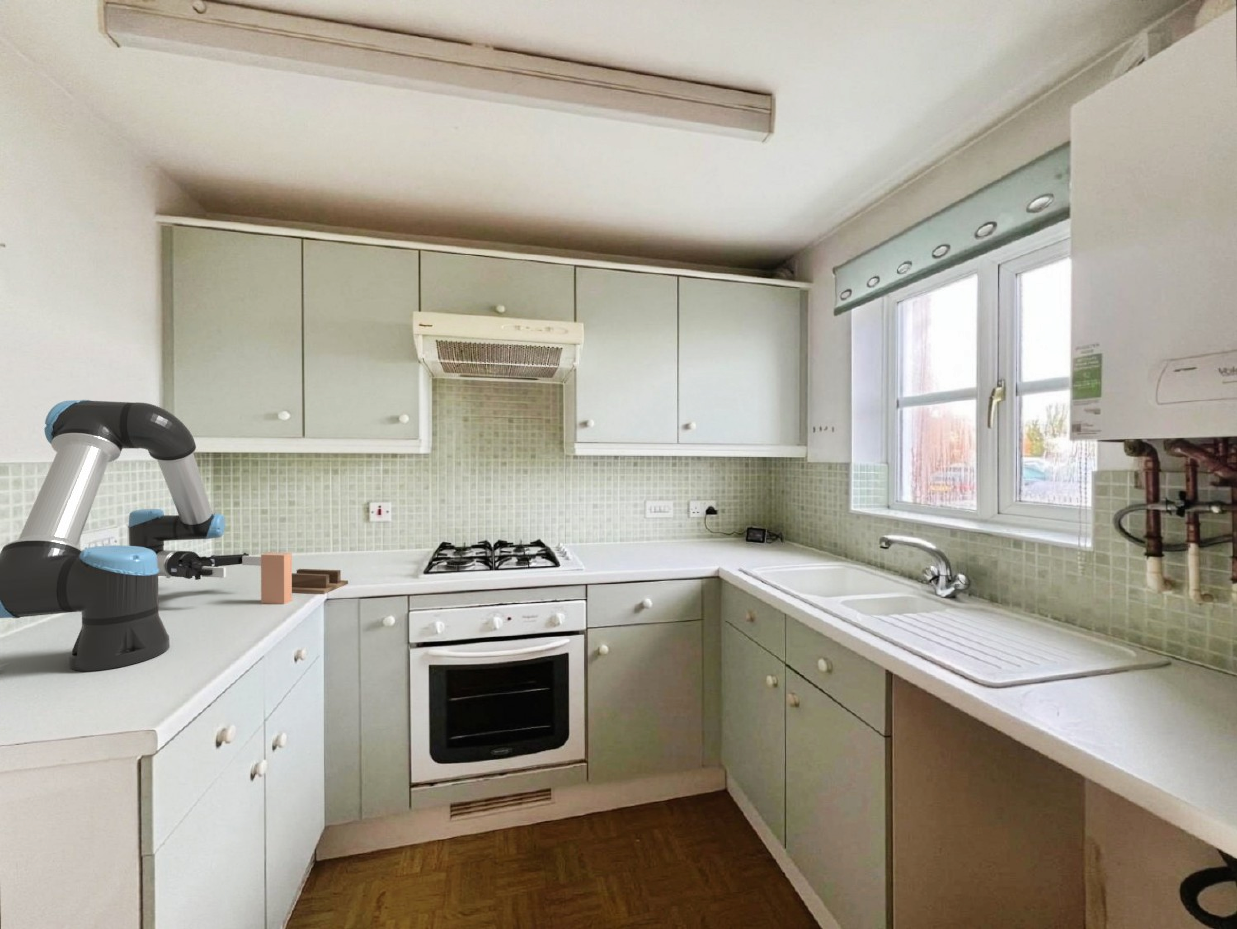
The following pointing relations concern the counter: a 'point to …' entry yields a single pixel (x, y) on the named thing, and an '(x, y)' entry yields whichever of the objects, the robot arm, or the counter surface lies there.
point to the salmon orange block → (276, 578)
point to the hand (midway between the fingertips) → (245, 566)
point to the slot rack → (316, 581)
